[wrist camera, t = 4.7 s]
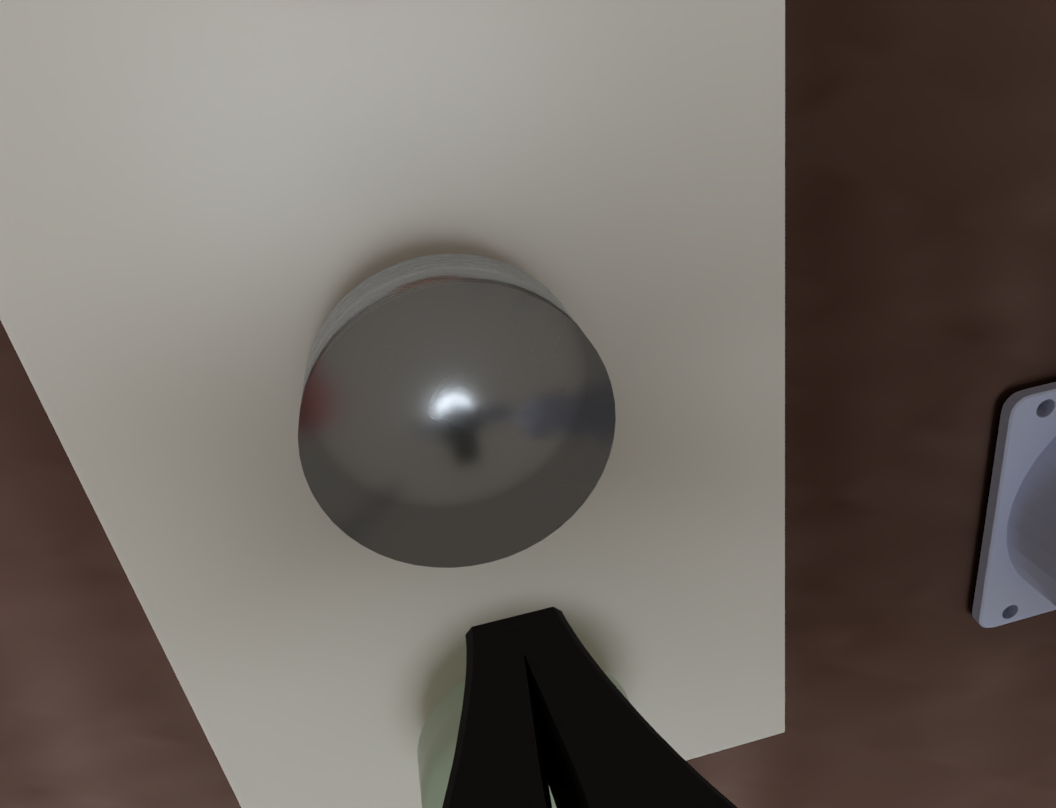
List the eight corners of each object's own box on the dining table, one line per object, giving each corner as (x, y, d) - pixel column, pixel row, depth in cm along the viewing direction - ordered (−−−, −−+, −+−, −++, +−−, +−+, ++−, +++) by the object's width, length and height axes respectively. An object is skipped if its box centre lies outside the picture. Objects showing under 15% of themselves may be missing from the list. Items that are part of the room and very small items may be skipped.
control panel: (719, -584, 12) (784, -693, 10) (752, 678, 24) (784, 731, 22) (-315, -491, 10) (-455, -600, 8) (282, 809, 22) (276, 878, 20)
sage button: (621, 630, 17) (647, 689, 16) (640, 781, 19) (664, 845, 18) (394, 691, 17) (399, 757, 15) (442, 838, 19) (449, 909, 17)
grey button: (569, 226, 13) (597, 252, 12) (601, 478, 15) (628, 527, 14) (265, 288, 12) (253, 324, 11) (346, 540, 15) (345, 599, 13)
